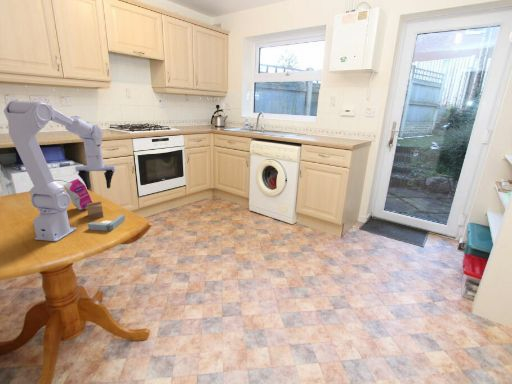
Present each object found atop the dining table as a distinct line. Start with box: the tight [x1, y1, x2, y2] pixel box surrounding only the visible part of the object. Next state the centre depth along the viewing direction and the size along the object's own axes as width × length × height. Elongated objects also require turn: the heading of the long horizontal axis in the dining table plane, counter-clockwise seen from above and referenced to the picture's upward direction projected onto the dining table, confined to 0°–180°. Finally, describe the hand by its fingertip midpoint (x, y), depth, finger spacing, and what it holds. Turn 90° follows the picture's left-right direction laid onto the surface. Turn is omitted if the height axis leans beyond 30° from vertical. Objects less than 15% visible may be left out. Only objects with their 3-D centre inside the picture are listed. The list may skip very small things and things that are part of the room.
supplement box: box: [63, 178, 94, 212], centre depth 114 cm, size 6×6×12 cm
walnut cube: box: [86, 201, 104, 220], centre depth 110 cm, size 5×5×5 cm
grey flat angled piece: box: [87, 214, 126, 232], centre depth 104 cm, size 10×8×2 cm
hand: (98, 187), depth 114 cm, fingers open, 7 cm apart
